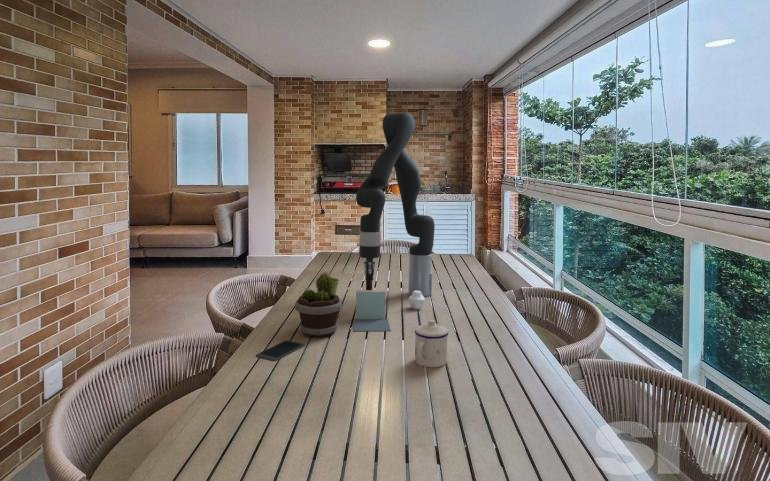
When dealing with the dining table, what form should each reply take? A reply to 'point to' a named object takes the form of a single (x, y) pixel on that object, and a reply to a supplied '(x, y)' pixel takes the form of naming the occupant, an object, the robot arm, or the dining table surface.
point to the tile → (370, 304)
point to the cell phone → (280, 350)
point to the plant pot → (333, 285)
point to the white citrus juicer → (416, 300)
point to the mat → (370, 325)
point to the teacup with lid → (431, 345)
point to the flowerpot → (319, 309)
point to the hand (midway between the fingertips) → (368, 290)
